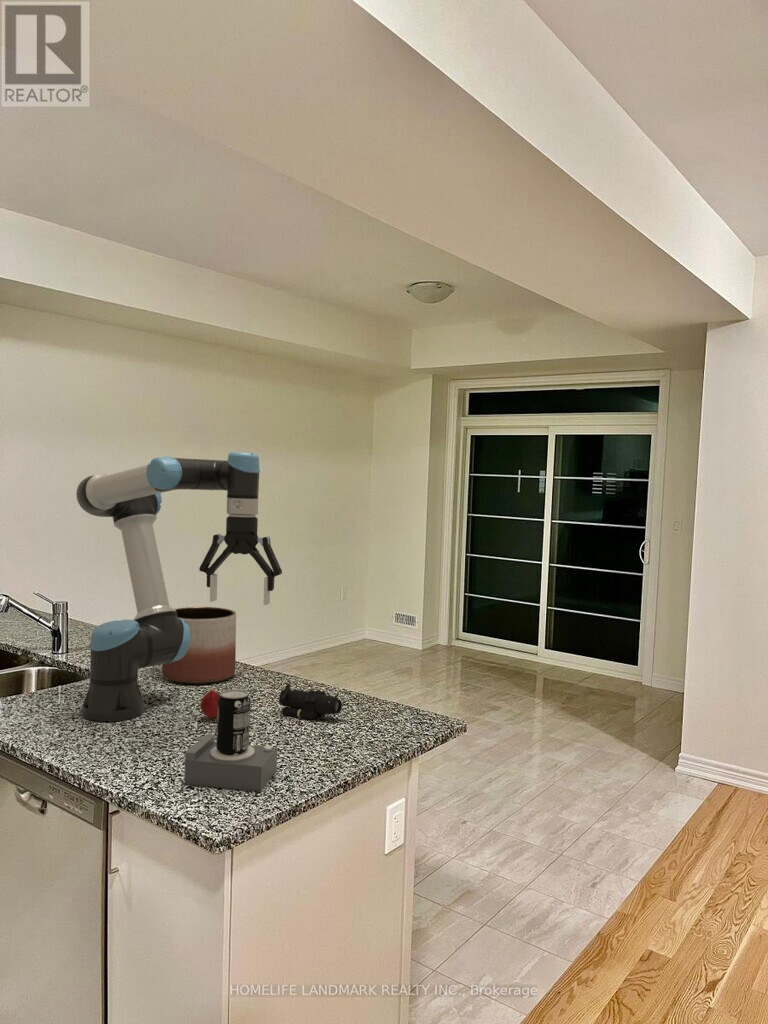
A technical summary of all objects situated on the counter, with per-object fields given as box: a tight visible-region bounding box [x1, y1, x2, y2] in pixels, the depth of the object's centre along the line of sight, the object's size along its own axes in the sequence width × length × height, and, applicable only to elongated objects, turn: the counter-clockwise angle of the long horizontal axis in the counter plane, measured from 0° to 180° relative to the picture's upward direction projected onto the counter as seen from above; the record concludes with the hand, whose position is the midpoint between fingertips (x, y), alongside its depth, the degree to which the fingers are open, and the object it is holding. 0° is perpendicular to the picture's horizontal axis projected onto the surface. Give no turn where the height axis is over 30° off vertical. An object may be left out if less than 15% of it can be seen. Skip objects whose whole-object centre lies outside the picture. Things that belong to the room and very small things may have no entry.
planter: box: [161, 606, 237, 685], centre depth 234 cm, size 22×22×20 cm
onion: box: [199, 687, 220, 720], centre depth 193 cm, size 6×6×8 cm
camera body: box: [184, 734, 278, 792], centre depth 156 cm, size 16×11×6 cm
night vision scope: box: [278, 683, 343, 721], centre depth 198 cm, size 8×18×10 cm
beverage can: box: [216, 689, 251, 755], centre depth 156 cm, size 7×7×12 cm
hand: (239, 602), depth 184 cm, fingers open, 13 cm apart
